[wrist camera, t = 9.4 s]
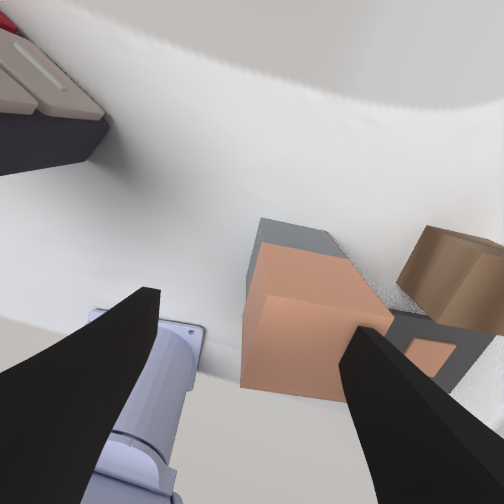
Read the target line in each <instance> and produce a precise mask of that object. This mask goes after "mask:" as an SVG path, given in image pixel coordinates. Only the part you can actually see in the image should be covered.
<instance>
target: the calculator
mask: <svg viewBox="0 0 504 504" xmlns="http://www.w3.org/2000/svg"><path fill="white" fill-rule="evenodd" d="M16 31H17V28H16V27H15V26H14V25H13V24H12V23H11V22H10V21H9V20H8V19H7V18H6V17H5V16H4V15H3V14H2V13H1V12H0V176H3V175H9V174H15V173H21V172H26V171H32V170H38V169H44V168H50V167H56V166H61V165H67V164H73V163H79V162H84V161H85V160H86V159H87V158H88V156H89V155H90V154H91V152H92V151H93V150H94V148H95V147H96V146H97V144H98V143H99V142H100V141H101V139H102V138H103V137H104V135H105V134H106V132H107V131H108V129H109V125H108V124H107V123H106V122H105V121H104V120H103V119H102V117H103V115H104V114H105V112H104V111H103V110H102V109H101V108H100V107H99V106H98V105H97V104H96V103H95V102H94V101H93V100H92V99H91V98H90V97H89V96H88V95H87V94H86V93H85V92H84V91H82V90H81V89H80V88H79V87H78V86H77V85H76V84H75V83H74V82H73V81H72V80H71V79H70V78H69V77H68V76H67V75H66V74H65V73H64V72H63V71H62V70H61V69H60V68H58V67H57V66H56V65H55V64H54V63H53V62H52V61H51V60H50V59H49V58H48V57H47V56H46V55H45V54H44V53H43V52H42V51H41V50H40V49H39V48H38V47H36V46H35V45H34V44H33V43H32V42H30V41H29V40H27V39H25V38H22V37H20V36H17V35H15V33H16Z"/></svg>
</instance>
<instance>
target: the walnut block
mask: <svg viewBox="0 0 504 504" xmlns="http://www.w3.org/2000/svg"><path fill="white" fill-rule="evenodd" d="M396 283H397V284H398V285H399V286H400V287H401V288H402V289H403V290H404V291H405V292H406V293H407V294H408V295H409V296H410V297H411V298H412V299H413V300H414V301H415V302H416V303H417V305H418V306H419V307H420V308H421V309H422V310H423V311H424V312H425V313H426V314H427V315H428V316H429V317H430V318H431V319H432V320H433V321H434V322H435V323H437V324H442V325H448V326H453V327H458V328H464V329H469V330H474V331H480V332H485V333H490V334H496V335H501V336H504V246H502V245H499V244H497V243H495V242H493V241H490V240H488V239H484V238H480V237H476V236H471V235H467V234H463V233H458V232H454V231H450V230H445V229H441V228H436V227H432V226H428V225H427V226H426V228H425V229H424V231H423V233H422V235H421V237H420V239H419V241H418V242H417V244H416V246H415V248H414V250H413V252H412V254H411V255H410V257H409V259H408V261H407V263H406V265H405V267H404V268H403V270H402V272H401V274H400V276H399V278H398V280H397V281H396Z"/></svg>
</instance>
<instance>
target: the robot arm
mask: <svg viewBox="0 0 504 504" xmlns="http://www.w3.org/2000/svg"><path fill="white" fill-rule="evenodd" d="M160 294H161V290H159V289H153V288H148V287H141V288H140V289H138V290H137V291H135V292H134V293H133V294H131V295H130V296H128V297H127V298H125V299H124V300H123V301H121V302H120V303H118V304H117V305H115V306H114V307H112V308H111V309H110V310H108V311H103V310H97V309H94V310H92V311H91V312H90V313H89V315H88V319H89V322H88V323H87V324H86V325H85V326H84V327H82V328H80V329H79V330H77V331H75V332H74V333H72V334H70V335H69V336H67V337H65V338H64V339H62V340H61V341H59V342H57V343H56V344H54V345H52V346H50V347H49V348H47V349H45V350H43V351H41V352H40V353H38V354H36V355H34V356H32V357H30V358H29V359H27V360H25V361H23V362H21V363H19V364H17V365H15V366H13V367H11V368H9V369H7V370H5V371H3V372H1V373H0V504H183V502H182V499H181V497H180V496H179V495H178V494H177V493H175V492H173V488H174V483H175V478H176V474H177V471H176V470H175V469H172V468H170V467H169V466H168V465H169V460H170V456H171V452H172V448H173V444H174V440H175V436H176V432H177V428H178V423H179V419H180V415H181V411H182V407H183V403H184V399H185V395H186V391H191V390H193V387H194V382H195V376H196V371H197V365H198V360H199V354H200V349H201V343H202V338H203V332H204V330H203V328H202V327H200V326H194V325H188V324H182V323H176V322H170V321H164V320H158V319H159V307H160ZM190 330H193V331H194V332H191V331H190ZM338 366H339V372H340V377H341V382H342V387H343V391H344V395H345V398H346V401H347V404H348V407H349V410H350V414H351V417H352V419H353V422H354V425H355V428H356V431H357V434H358V437H359V440H360V443H361V446H362V449H363V452H364V455H365V458H366V461H367V464H368V467H369V471H370V474H371V477H372V480H373V484H374V488H375V492H376V496H377V500H378V504H504V439H503V438H502V437H500V436H499V435H498V434H496V433H495V432H494V431H492V430H491V429H490V428H489V427H487V426H486V425H485V424H483V423H482V422H481V421H480V420H478V419H477V418H476V417H475V416H473V415H472V414H471V413H470V412H469V411H467V410H466V409H465V408H464V407H463V406H461V405H460V404H459V403H458V402H457V401H456V400H454V399H453V398H452V397H451V396H450V395H448V394H447V393H446V392H445V391H444V390H443V389H442V388H440V387H439V386H438V385H437V384H436V383H435V382H434V381H432V380H431V379H430V378H429V377H428V376H427V375H426V374H425V373H424V372H422V371H421V370H420V369H419V368H418V367H417V366H416V365H415V364H414V363H413V362H411V361H410V360H409V359H408V358H407V357H406V356H405V355H404V354H403V353H402V352H401V351H399V350H398V349H397V348H396V347H395V346H394V345H393V344H392V343H391V342H389V341H388V340H387V339H386V338H385V337H384V336H383V335H381V334H380V333H379V332H378V331H376V330H375V329H374V328H369V327H364V326H358V327H357V329H356V331H355V333H354V334H353V336H352V338H351V340H350V342H349V344H348V346H347V348H346V350H345V352H344V354H343V356H342V358H341V360H340V362H339V363H338Z"/></svg>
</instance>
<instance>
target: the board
mask: <svg viewBox="0 0 504 504" xmlns="http://www.w3.org/2000/svg"><path fill="white" fill-rule="evenodd" d="M388 310H389V311H390V312H391V314H392V315H393V316H394V320H393V322H392V324H391V325H390V327H389V329H388V331H387V332H386V334H385V336H384V337H385V338H386V339H387V340H388V341H389V342H391V343H392V344H393V345H394V346H395V347H396V348H397V349H398V350H399V351H401V352H402V353H403V354H404V355H405V356H406V357H407V358H408V359H409V360H410V361H411V362H413V363H414V364H415V365H416V366H417V367H418V368H419V369H420V370H421V371H422V372H424V373H425V374H426V375H427V376H428V377H429V378H430V379H431V380H432V381H434V382H435V383H436V384H437V385H438V386H439V387H440V388H442V389H443V390H444V391H445V392H446V393H449V394H450V393H451V391H452V390H453V389H454V388H455V386H456V385H457V384H458V383H459V381H460V380H461V379H462V378H463V376H464V375H465V374H466V373H467V371H468V370H469V369H470V368H471V366H472V365H473V364H474V363H475V361H476V360H477V359H478V358H479V356H480V355H481V354H482V353H483V351H484V350H485V349H486V348H487V346H488V345H489V344H490V343H491V341H492V340H493V339H494V338H495V336H496V334H490V333H485V332H480V331H474V330H469V329H464V328H458V327H453V326H448V325H442V324H437V323H435V322H434V321H433V320H432V319H431V318H430V317H429V316H425V315H420V314H414V313H409V312H403V311H398V310H393V309H388Z"/></svg>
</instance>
